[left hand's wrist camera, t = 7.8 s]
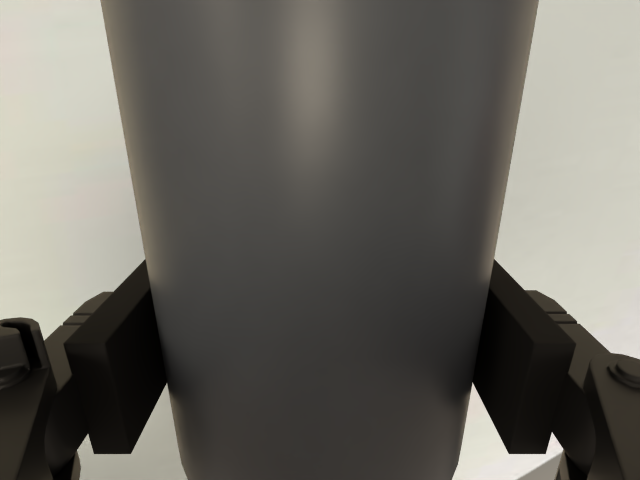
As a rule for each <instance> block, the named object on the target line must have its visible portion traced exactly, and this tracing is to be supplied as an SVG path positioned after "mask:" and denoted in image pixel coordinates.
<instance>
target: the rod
mask: <svg viewBox="0 0 640 480" xmlns="http://www.w3.org/2000/svg"><path fill="white" fill-rule="evenodd" d="M538 2H539V0H101V6H102V12H103V17H104V23H105V29H106V34H107V40H108V46H109V52H110V57H111V63H112V69H113V75H114V80H115V86H116V92H117V98H118V103H119V109H120V115H121V120H122V126H123V132H124V138H125V143H126V149H127V155H128V161H129V166H130V172H131V178H132V184H133V189H134V195H135V201H136V206H137V212H138V218H139V224H140V229H141V235H142V241H143V247H144V252H145V258H146V264H147V270H148V275H149V281H150V287H151V293H152V298H153V304H154V310H155V315H156V321H157V327H158V333H159V338H160V344H161V350H162V356H163V361H164V367H165V373H166V379H167V384H168V390H169V396H170V401H171V407H172V413H173V419H174V424H175V430H176V436H177V442H178V447H179V452H180V458H181V463H182V466H183V468H184V471H185V473H186V476H187V478H188V480H452V477H453V475H454V472H455V470H456V467H457V465H458V461H459V455H460V450H461V445H462V439H463V434H464V428H465V422H466V416H467V411H468V405H469V399H470V393H471V388H472V382H473V376H474V370H475V365H476V359H477V353H478V347H479V341H480V336H481V330H482V324H483V318H484V313H485V307H486V301H487V295H488V290H489V284H490V278H491V272H492V267H493V261H494V255H495V249H496V244H497V238H498V232H499V226H500V221H501V215H502V209H503V203H504V198H505V192H506V186H507V180H508V175H509V169H510V163H511V157H512V152H513V146H514V140H515V134H516V129H517V123H518V117H519V111H520V106H521V100H522V94H523V88H524V83H525V77H526V71H527V65H528V60H529V54H530V48H531V42H532V37H533V31H534V25H535V19H536V14H537V8H538Z"/></svg>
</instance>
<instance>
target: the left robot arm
mask: <svg viewBox="0 0 640 480" xmlns="http://www.w3.org/2000/svg"><path fill="white" fill-rule="evenodd" d="M166 383H167V379H166V373H165V367H164V361H163V356H162V350H161V344H160V338H159V333H158V327H157V321H156V315H155V310H154V304H153V298H152V293H151V287H150V281H149V275H148V270H147V264H146V259H145V260H144V261H143V262H142V263H141V264H140V265H139V266H138V267H137V268H136V269H135V270H134V271H133V272H132V273H131V275H130V276H129V277H128V278H127V279H126V280H125V281H124V282H123V283H122V284H121V285H120V286H119V287H118V288H117V289H116V290H115V291H114V292H103V293H101V294H99V295H97V296H95V297H93V298H91V299H90V300H88V301H86V302H85V303H84V304H83V305H82V306H80V307H79V308H78V309H77V310H76V311H75V312H74V313H73V316H70V317H69V318H68V319H67V320H66V321H65V322H64V323H63V326H59V327H58V328H57V329H56V330H55V331H54V332H53V333H52V334H51V335H50V336H49V337H48V338H47V339H46V340H45V341H44V340H43V336H42V333H41V330H40V326H39V323H38V322H36V321H35V320H33V319H29V318H21V317H20V318H10V319H3V320H0V480H79V477H80V470H81V466H80V459H79V456H78V453H77V449H78V448H79V446H80V445H81V443H82V442H83V440H84V439H85V437H86V436H87V434H89V438H90V441H91V445H92V448H93V452H94V454H131V453H132V451H133V449H134V447H135V445H136V443H137V441H138V439H139V437H140V435H141V433H142V431H143V429H144V427H145V425H146V423H147V421H148V419H149V417H150V415H151V413H152V411H153V409H154V407H155V405H156V403H157V401H158V399H159V397H160V395H161V393H162V391H163V389H164V387H165V385H166ZM473 384H474V386H475V388H476V390H477V392H478V394H479V396H480V398H481V400H482V402H483V404H484V406H485V408H486V410H487V412H488V414H489V416H490V417H491V419H492V421H493V423H494V425H495V427H496V429H497V431H498V433H499V435H500V437H501V439H502V441H503V443H504V445H505V447H506V449H507V451H508V453H509V454H546V451H547V447H548V444H549V440H550V436H551V433H552V432H553V434H554V435H555V437H556V438H557V440H558V441H559V443H560V444H561V446H562V447H563V453H562V456H561V459H560V463H559V466H558V469H557V473H556V476H555V479H554V480H640V359H637V358H633V357H630V356H626V355H622V354H614V353H610V352H609V351H608V350H607V349H606V348H605V347H604V346H603V345H602V344H601V343H599V342H598V341H597V340H596V339H595V338H594V337H593V336H592V335H591V334H590V333H589V332H588V331H587V330H586V329H585V328H584V327H582V326H581V325H580V324H577V321H576V320H575V319H574V318H573V317H572V316H571V315H570V314H567V312H566V311H565V310H564V309H563V308H562V307H561V306H560V305H559V304H558V303H557V302H556V301H555V300H553V299H551V298H549V297H547V296H546V295H544V294H542V293H540V292H538V291H536V290H524V289H523V288H522V287H521V286H520V285H519V284H518V283H517V282H516V281H515V280H514V279H513V278H512V277H511V276H510V275H509V274H508V273H507V272H506V271H505V270H504V269H503V268H502V267H501V266H500V265H499V264H498V263H497V261H496V260H495V259H494V261H493V267H492V272H491V278H490V284H489V290H488V295H487V301H486V307H485V313H484V318H483V324H482V330H481V336H480V341H479V347H478V353H477V359H476V365H475V370H474V376H473Z"/></svg>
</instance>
